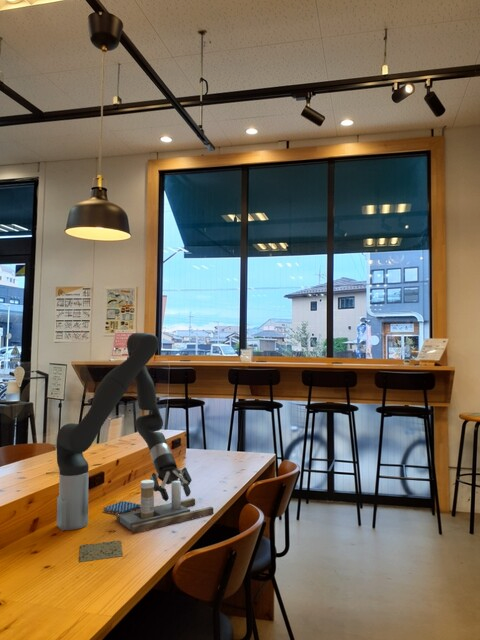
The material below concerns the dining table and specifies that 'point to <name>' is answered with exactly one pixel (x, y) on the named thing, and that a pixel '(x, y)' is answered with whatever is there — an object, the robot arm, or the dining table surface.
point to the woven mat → (122, 507)
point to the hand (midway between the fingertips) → (178, 497)
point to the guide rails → (169, 519)
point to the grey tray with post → (158, 509)
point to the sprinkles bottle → (147, 499)
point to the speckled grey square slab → (100, 551)
